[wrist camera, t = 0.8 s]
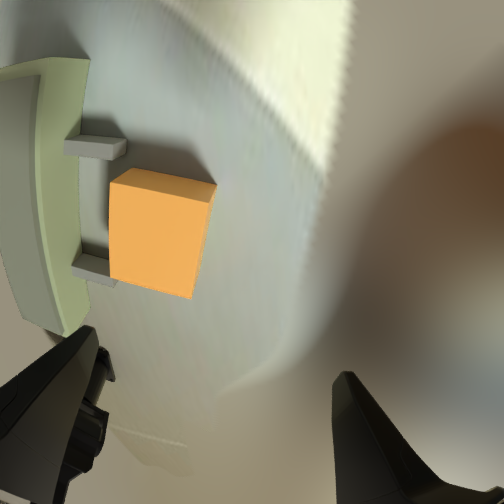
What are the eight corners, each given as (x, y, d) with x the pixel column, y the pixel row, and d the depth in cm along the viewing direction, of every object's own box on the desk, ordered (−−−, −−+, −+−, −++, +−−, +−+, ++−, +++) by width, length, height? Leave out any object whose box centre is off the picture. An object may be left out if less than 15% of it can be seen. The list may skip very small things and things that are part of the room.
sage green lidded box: (126, 318, 24) (107, 358, 20) (46, 291, 23) (22, 323, 19) (141, 58, 13) (100, 50, 9) (33, 66, 12) (-13, 71, 8)
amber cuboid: (200, 269, 21) (191, 299, 18) (128, 251, 21) (110, 277, 18) (217, 183, 18) (208, 203, 15) (133, 166, 17) (110, 182, 14)
